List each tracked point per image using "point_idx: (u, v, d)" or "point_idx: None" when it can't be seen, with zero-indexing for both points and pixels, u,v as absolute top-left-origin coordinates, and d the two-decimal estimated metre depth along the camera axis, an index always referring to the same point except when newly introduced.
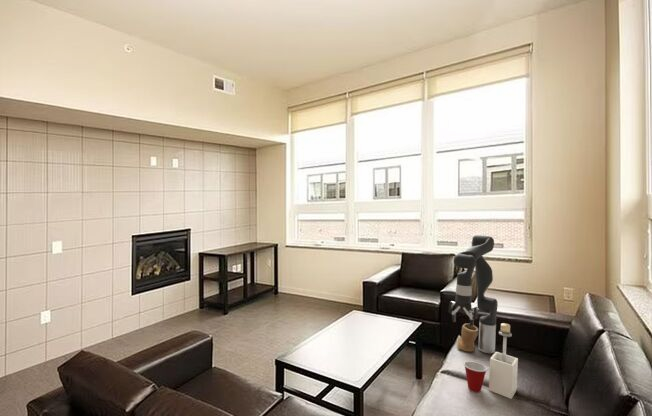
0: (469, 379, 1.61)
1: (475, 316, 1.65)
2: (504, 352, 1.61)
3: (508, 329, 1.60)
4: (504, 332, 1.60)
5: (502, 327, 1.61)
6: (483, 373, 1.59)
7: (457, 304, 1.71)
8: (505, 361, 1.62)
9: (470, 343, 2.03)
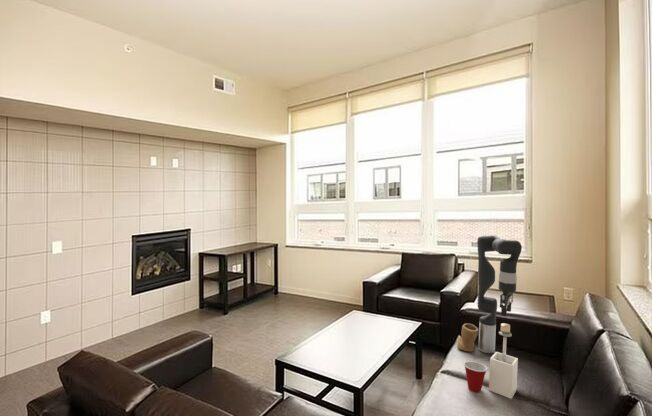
0: (469, 379, 1.61)
1: (512, 299, 1.65)
2: (504, 352, 1.61)
3: (508, 329, 1.60)
4: (504, 332, 1.60)
5: (502, 327, 1.61)
6: (483, 373, 1.59)
7: (508, 295, 1.58)
8: (505, 361, 1.62)
9: (470, 343, 2.03)
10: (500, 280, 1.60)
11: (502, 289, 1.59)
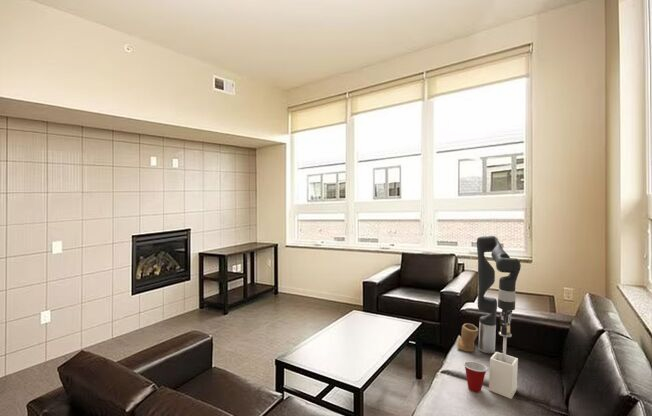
0: (469, 379, 1.61)
1: (510, 319, 1.64)
2: (504, 352, 1.61)
3: (508, 329, 1.60)
4: None
5: None
6: (483, 373, 1.59)
7: (507, 313, 1.58)
8: (505, 361, 1.62)
9: (470, 343, 2.03)
10: (499, 298, 1.60)
11: (501, 307, 1.59)
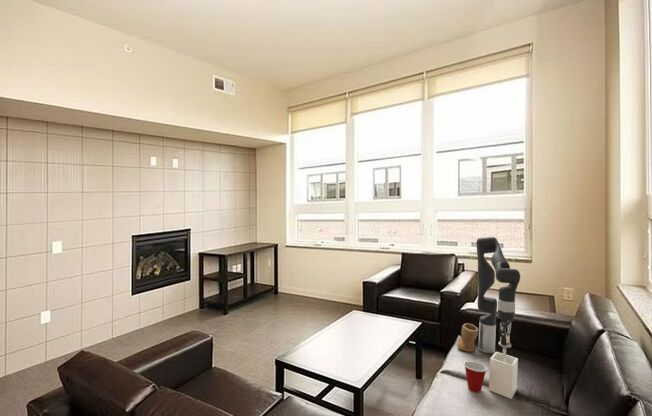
0: (469, 379, 1.61)
1: None
2: None
3: (508, 340, 1.60)
4: None
5: None
6: (483, 373, 1.59)
7: (506, 323, 1.59)
8: None
9: (470, 343, 2.03)
10: (499, 308, 1.61)
11: (501, 317, 1.59)
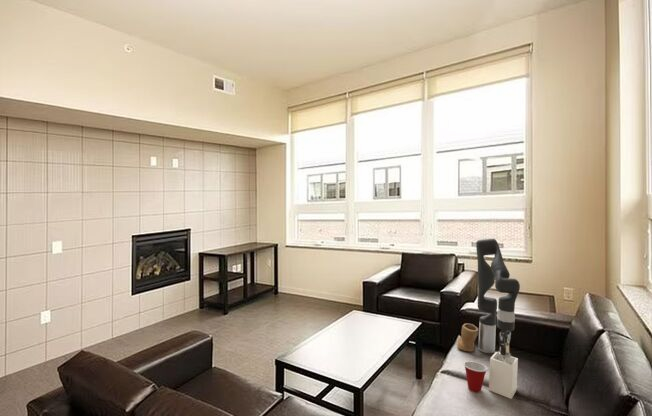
0: (469, 379, 1.61)
1: None
2: None
3: (507, 350, 1.60)
4: None
5: None
6: (483, 373, 1.59)
7: (506, 333, 1.59)
8: None
9: (470, 343, 2.03)
10: (498, 318, 1.61)
11: (500, 327, 1.60)
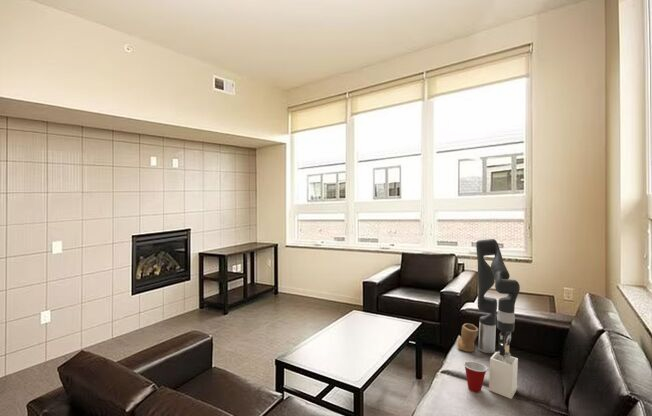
0: (469, 379, 1.61)
1: (510, 336, 1.66)
2: None
3: (507, 349, 1.60)
4: None
5: None
6: (483, 373, 1.59)
7: (506, 334, 1.59)
8: None
9: (470, 343, 2.03)
10: (498, 319, 1.61)
11: (500, 328, 1.60)
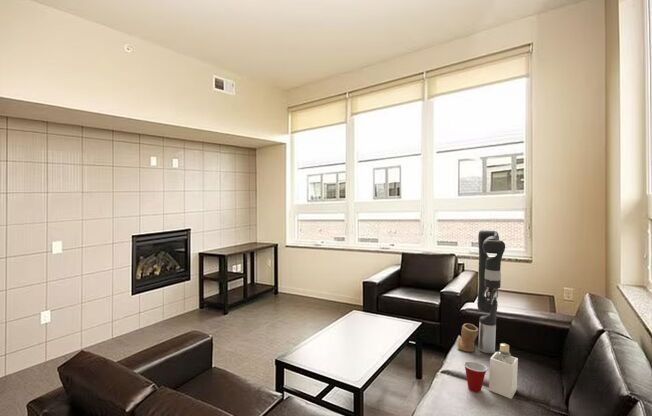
0: (469, 379, 1.61)
1: (497, 294, 1.77)
2: None
3: (507, 349, 1.60)
4: (503, 352, 1.60)
5: (501, 347, 1.61)
6: (483, 373, 1.59)
7: (493, 291, 1.70)
8: None
9: (470, 343, 2.03)
10: (486, 277, 1.71)
11: (488, 286, 1.70)
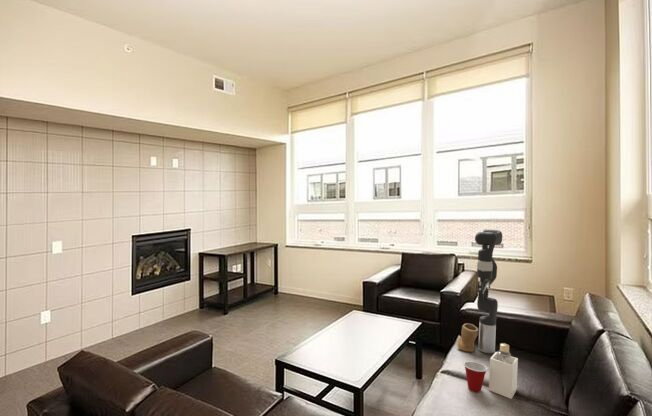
0: (469, 379, 1.61)
1: (489, 285, 1.83)
2: None
3: (507, 349, 1.60)
4: (503, 352, 1.60)
5: (501, 347, 1.61)
6: (483, 373, 1.59)
7: (484, 281, 1.76)
8: None
9: (470, 343, 2.03)
10: (478, 268, 1.78)
11: (479, 276, 1.77)
